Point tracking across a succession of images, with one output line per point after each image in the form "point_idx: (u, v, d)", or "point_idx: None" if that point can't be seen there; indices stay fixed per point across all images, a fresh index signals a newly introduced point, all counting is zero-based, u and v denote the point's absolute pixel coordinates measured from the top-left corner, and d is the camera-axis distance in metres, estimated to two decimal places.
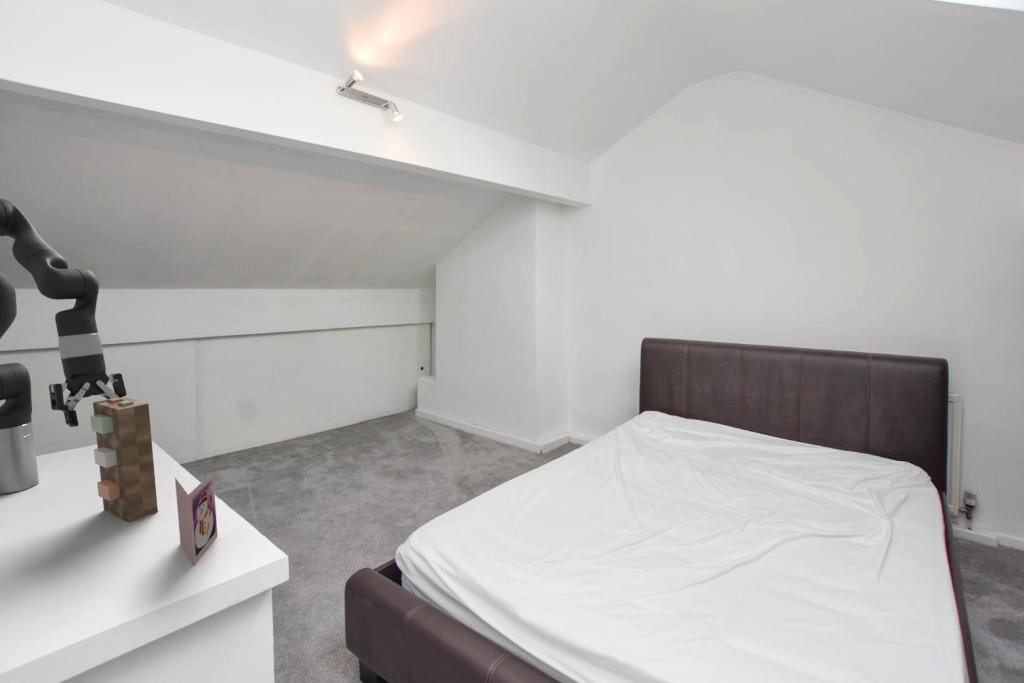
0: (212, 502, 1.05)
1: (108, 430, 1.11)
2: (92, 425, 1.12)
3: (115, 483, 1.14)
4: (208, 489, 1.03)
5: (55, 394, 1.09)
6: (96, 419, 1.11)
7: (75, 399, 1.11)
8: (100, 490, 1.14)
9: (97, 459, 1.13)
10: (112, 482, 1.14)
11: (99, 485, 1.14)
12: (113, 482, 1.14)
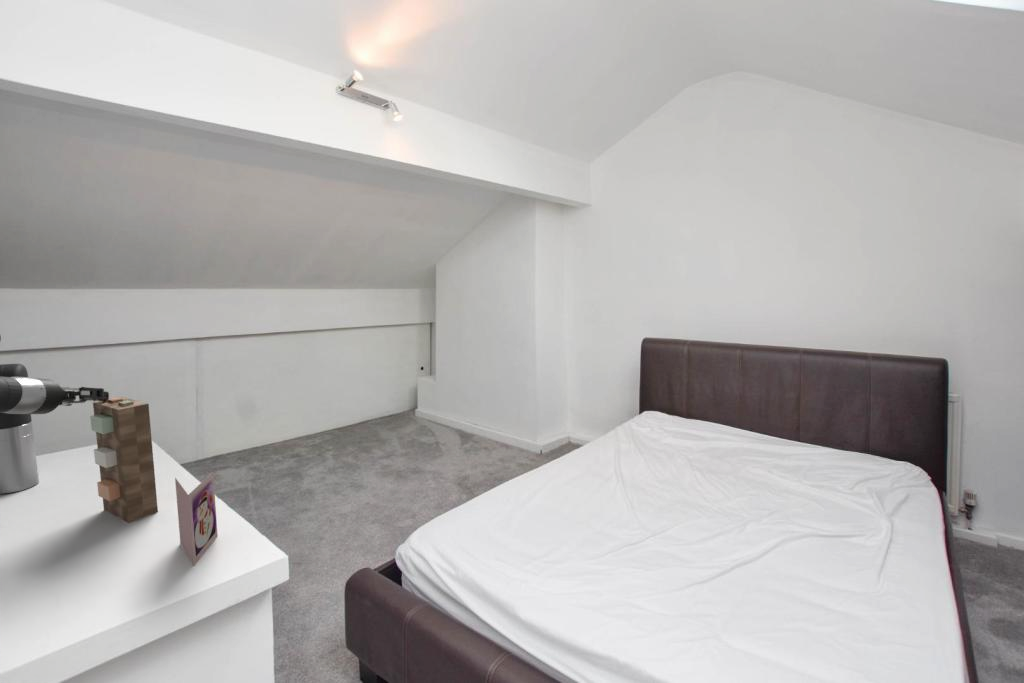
0: (212, 502, 1.05)
1: (108, 430, 1.11)
2: (92, 425, 1.12)
3: (115, 483, 1.14)
4: (208, 489, 1.03)
5: None
6: (96, 419, 1.11)
7: None
8: (100, 490, 1.14)
9: (97, 459, 1.13)
10: (112, 482, 1.14)
11: (99, 485, 1.14)
12: (113, 482, 1.14)
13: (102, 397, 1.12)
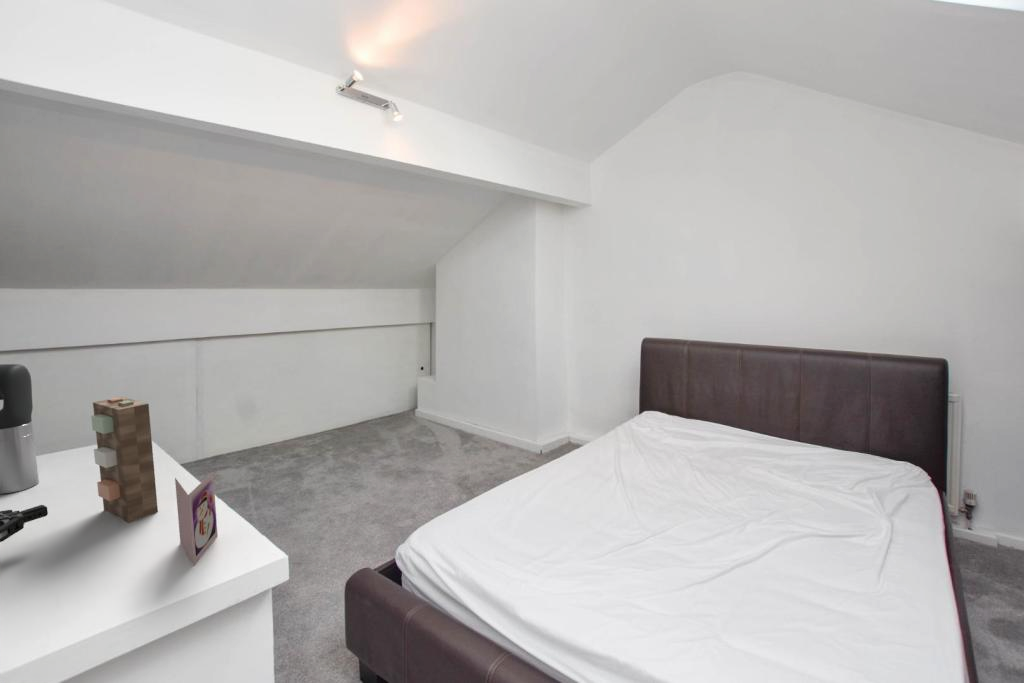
0: (212, 502, 1.05)
1: (109, 430, 1.11)
2: (93, 425, 1.12)
3: (115, 483, 1.14)
4: (208, 489, 1.03)
5: None
6: (97, 419, 1.11)
7: None
8: (100, 490, 1.14)
9: (97, 459, 1.13)
10: (112, 482, 1.14)
11: (99, 485, 1.14)
12: (113, 482, 1.14)
13: (19, 528, 0.98)
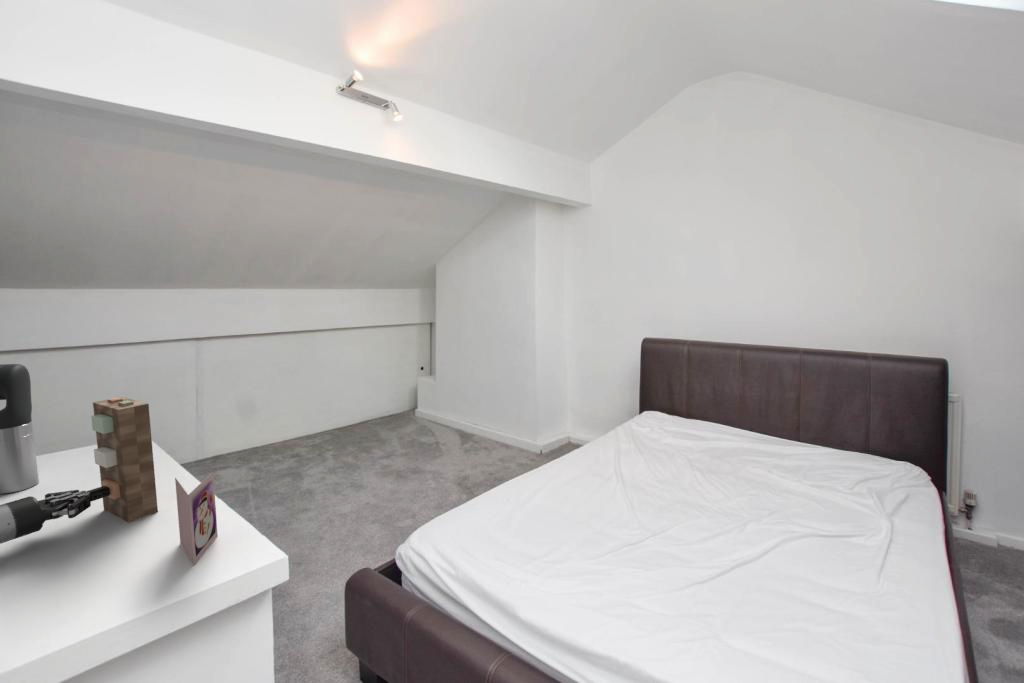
0: (212, 502, 1.05)
1: (109, 430, 1.11)
2: (93, 425, 1.12)
3: None
4: (208, 489, 1.03)
5: None
6: (97, 419, 1.11)
7: None
8: None
9: (97, 459, 1.13)
10: None
11: (104, 484, 1.15)
12: None
13: (87, 505, 1.08)
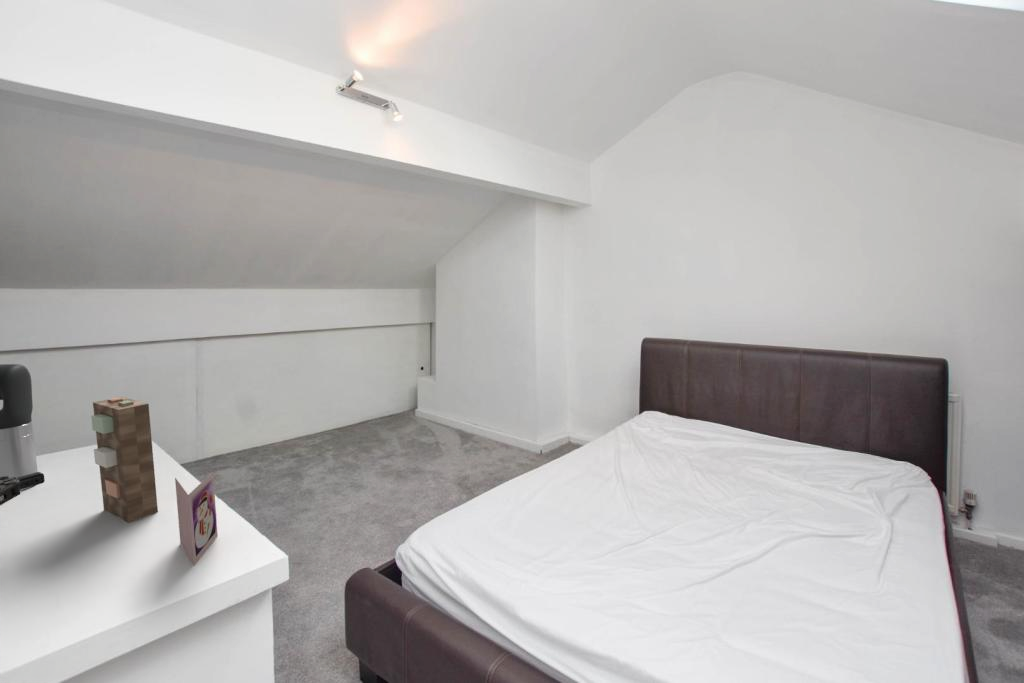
0: (212, 502, 1.05)
1: (109, 430, 1.11)
2: (93, 425, 1.12)
3: None
4: (208, 489, 1.03)
5: None
6: (97, 419, 1.11)
7: None
8: (108, 488, 1.15)
9: (97, 459, 1.13)
10: None
11: (107, 483, 1.15)
12: None
13: (16, 494, 0.98)
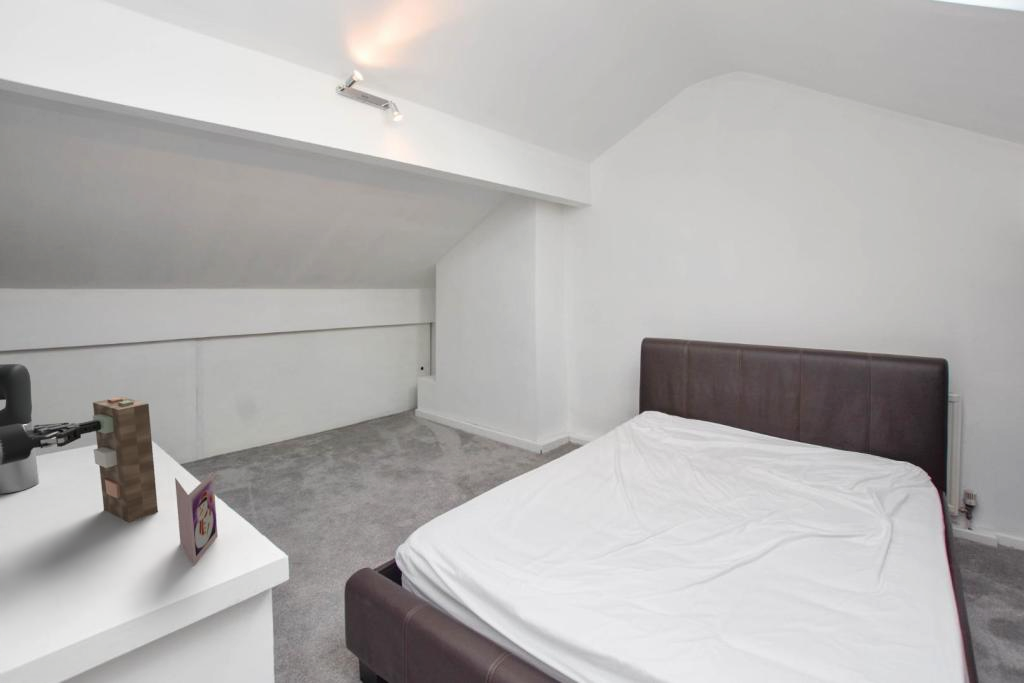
0: (212, 502, 1.05)
1: (110, 429, 1.11)
2: None
3: None
4: (208, 489, 1.03)
5: None
6: (98, 419, 1.11)
7: None
8: (108, 488, 1.15)
9: (97, 459, 1.13)
10: None
11: (107, 483, 1.15)
12: None
13: (77, 437, 1.06)
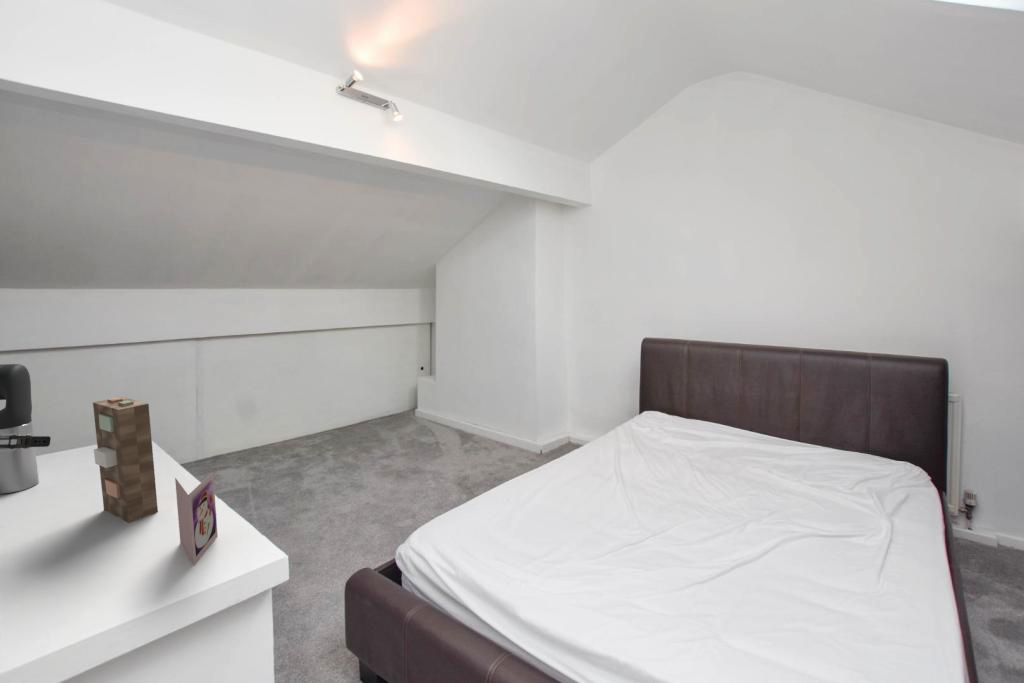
0: (212, 502, 1.05)
1: None
2: (100, 423, 1.13)
3: None
4: (208, 489, 1.03)
5: None
6: (104, 417, 1.12)
7: None
8: (108, 488, 1.15)
9: (97, 459, 1.13)
10: None
11: (107, 483, 1.15)
12: None
13: (27, 446, 1.00)
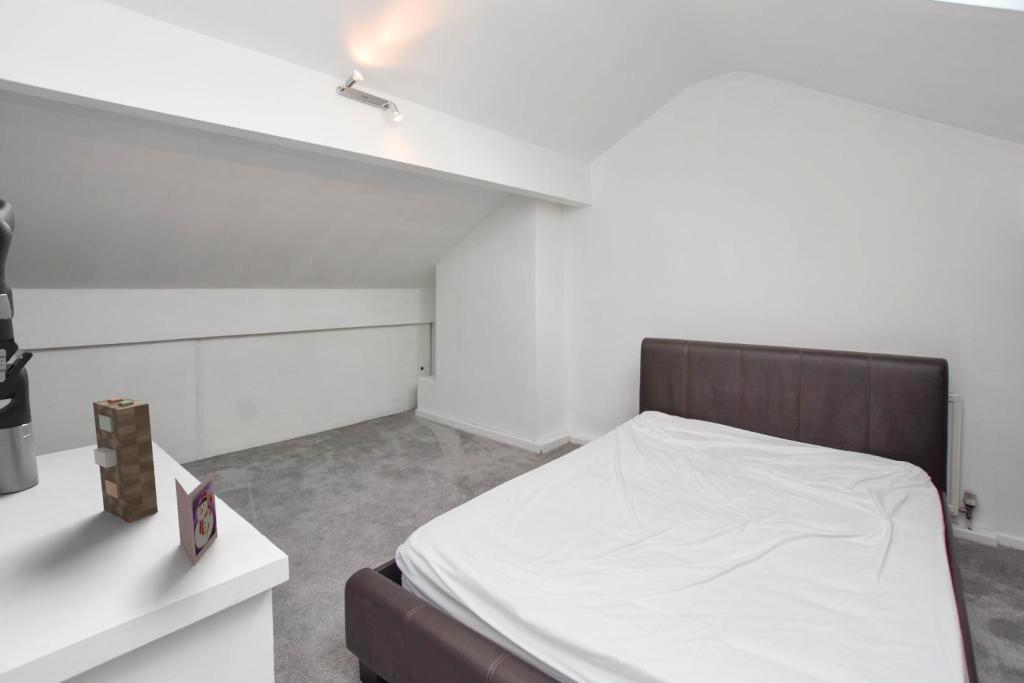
0: (212, 502, 1.05)
1: None
2: (100, 423, 1.13)
3: None
4: (208, 489, 1.03)
5: None
6: (104, 417, 1.12)
7: None
8: (108, 488, 1.15)
9: (97, 459, 1.13)
10: None
11: (107, 483, 1.15)
12: None
13: None
